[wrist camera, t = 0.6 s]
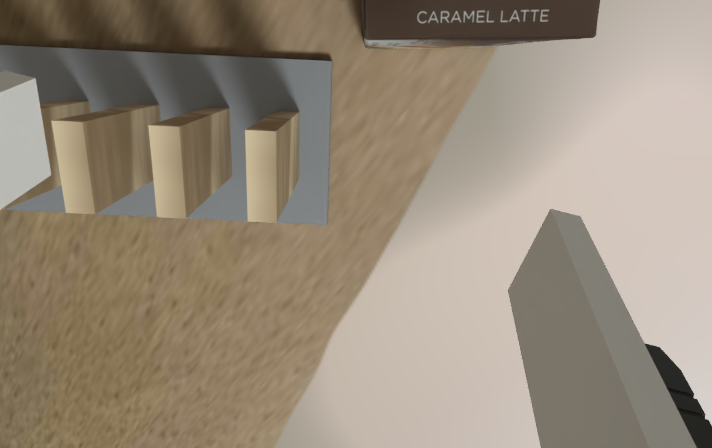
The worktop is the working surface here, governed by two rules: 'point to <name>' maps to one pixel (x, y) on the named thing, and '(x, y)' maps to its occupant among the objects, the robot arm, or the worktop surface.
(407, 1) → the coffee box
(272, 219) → the wooden block
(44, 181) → the tile
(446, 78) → the worktop surface
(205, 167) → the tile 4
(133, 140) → the tile
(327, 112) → the slate board
